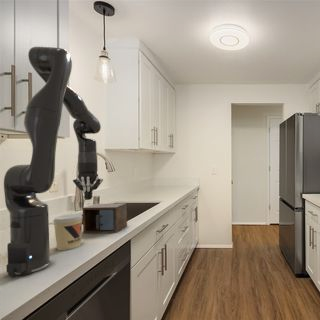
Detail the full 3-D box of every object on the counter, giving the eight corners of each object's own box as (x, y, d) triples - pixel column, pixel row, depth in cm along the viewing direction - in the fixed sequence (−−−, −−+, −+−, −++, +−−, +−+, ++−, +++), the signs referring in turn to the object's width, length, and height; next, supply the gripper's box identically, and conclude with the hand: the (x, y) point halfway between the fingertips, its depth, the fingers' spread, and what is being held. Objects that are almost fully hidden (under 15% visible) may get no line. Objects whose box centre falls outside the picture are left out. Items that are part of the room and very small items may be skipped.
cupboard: (116, 232, 111) (116, 207, 111) (83, 233, 112) (82, 207, 111) (127, 226, 121) (126, 203, 121) (96, 227, 122) (95, 203, 121)
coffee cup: (68, 251, 89) (67, 219, 89) (48, 250, 91) (47, 219, 91) (88, 242, 98) (87, 214, 98) (70, 241, 100) (69, 213, 100)
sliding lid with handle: (108, 232, 108) (108, 211, 107) (94, 232, 108) (94, 212, 108) (114, 229, 112) (113, 209, 112) (100, 229, 112) (100, 209, 112)
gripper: (67, 162, 105) (68, 201, 104) (97, 161, 104) (97, 200, 104) (79, 162, 112) (79, 198, 112) (106, 161, 112) (107, 198, 112)
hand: (88, 199), depth 108 cm, fingers closed
